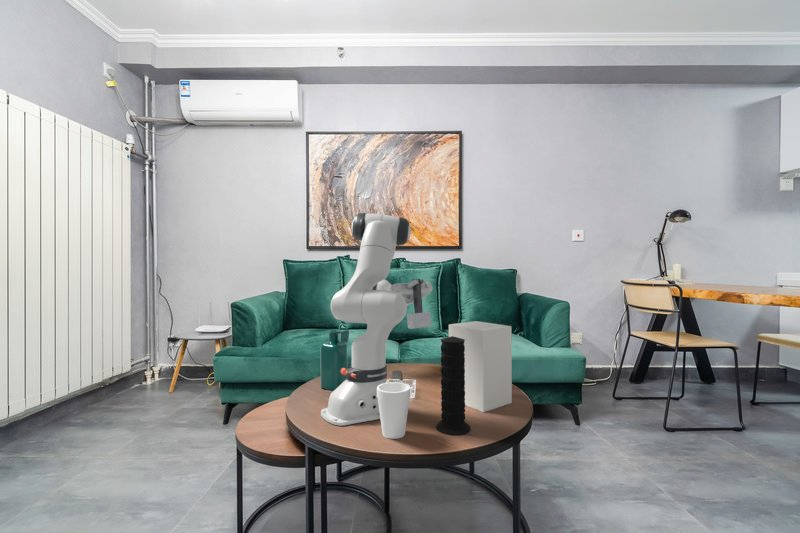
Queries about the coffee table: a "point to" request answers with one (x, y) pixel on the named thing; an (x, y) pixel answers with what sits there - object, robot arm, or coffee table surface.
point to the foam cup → (393, 408)
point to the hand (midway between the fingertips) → (420, 280)
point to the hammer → (418, 310)
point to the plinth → (486, 363)
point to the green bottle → (333, 359)
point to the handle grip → (453, 387)
